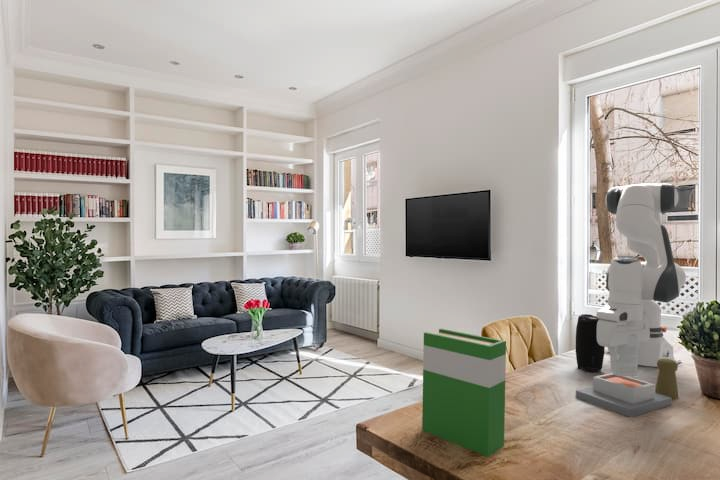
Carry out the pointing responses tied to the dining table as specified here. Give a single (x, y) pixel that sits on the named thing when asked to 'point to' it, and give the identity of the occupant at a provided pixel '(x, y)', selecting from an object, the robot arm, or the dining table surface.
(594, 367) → the portable speaker
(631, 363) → the skincare box
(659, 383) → the cork
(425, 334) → the hardback book
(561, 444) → the dining table surface
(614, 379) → the button
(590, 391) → the switch box
